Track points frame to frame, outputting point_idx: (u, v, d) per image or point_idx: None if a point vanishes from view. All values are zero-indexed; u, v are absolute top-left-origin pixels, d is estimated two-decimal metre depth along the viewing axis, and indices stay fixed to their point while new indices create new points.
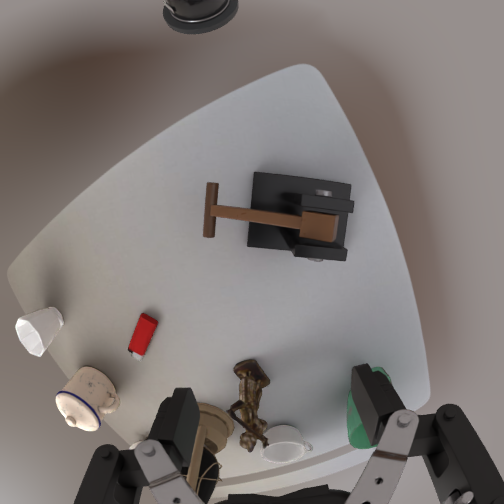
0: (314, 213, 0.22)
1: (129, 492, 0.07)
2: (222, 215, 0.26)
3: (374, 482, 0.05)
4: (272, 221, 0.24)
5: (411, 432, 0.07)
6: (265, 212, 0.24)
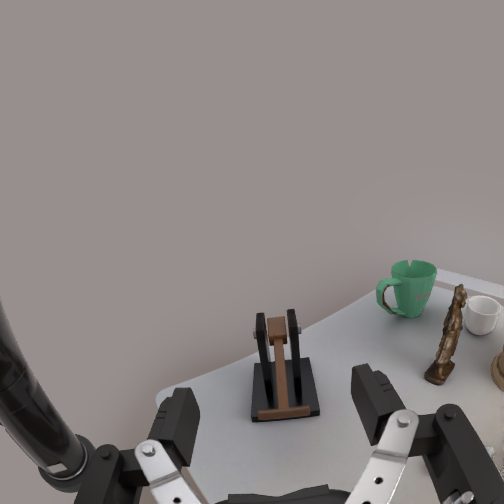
0: (268, 329, 0.33)
1: (129, 492, 0.07)
2: (285, 397, 0.26)
3: (374, 482, 0.05)
4: (281, 357, 0.30)
5: (411, 432, 0.07)
6: (276, 364, 0.30)
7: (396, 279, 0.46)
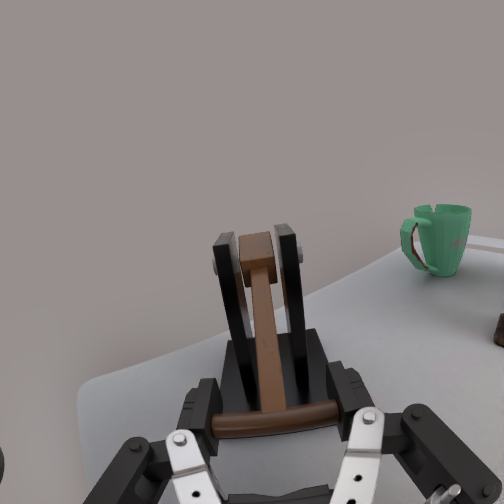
0: (240, 251, 0.18)
1: (153, 485, 0.07)
2: (278, 382, 0.11)
3: (353, 480, 0.05)
4: (266, 299, 0.15)
5: (379, 427, 0.07)
6: (254, 312, 0.15)
7: (424, 219, 0.32)
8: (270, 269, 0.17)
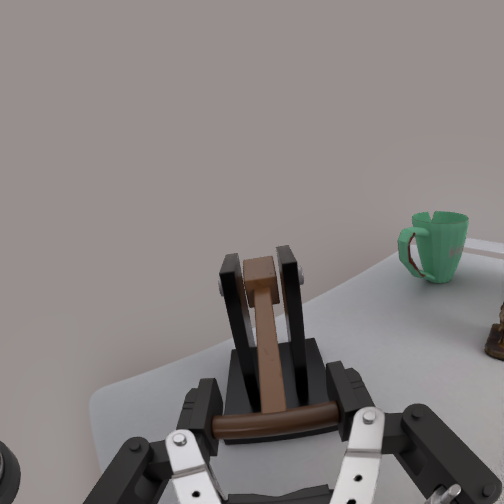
0: (244, 272, 0.19)
1: (153, 485, 0.07)
2: (278, 385, 0.11)
3: (354, 480, 0.05)
4: (268, 314, 0.16)
5: (379, 428, 0.07)
6: (257, 325, 0.15)
7: (422, 228, 0.33)
8: (272, 289, 0.18)
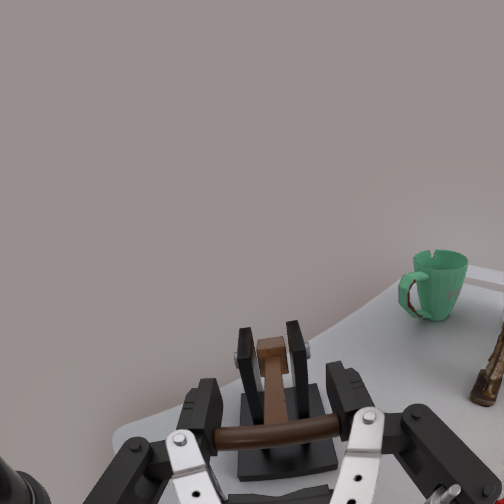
0: (257, 345, 0.21)
1: (153, 485, 0.07)
2: (282, 407, 0.12)
3: (354, 480, 0.05)
4: (276, 369, 0.17)
5: (379, 428, 0.07)
6: (266, 375, 0.16)
7: (422, 273, 0.34)
8: (282, 358, 0.20)
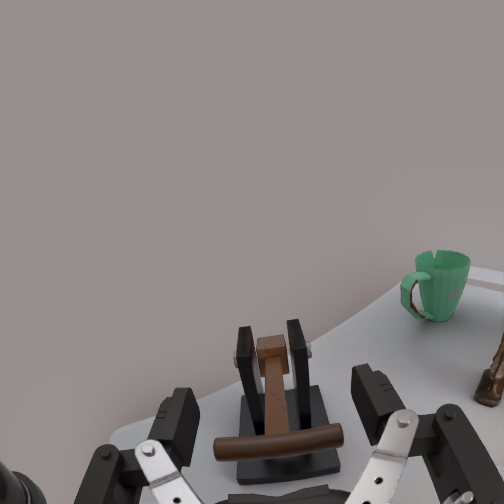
0: (257, 345, 0.20)
1: (129, 492, 0.07)
2: (283, 415, 0.11)
3: (374, 482, 0.05)
4: (277, 371, 0.16)
5: (411, 432, 0.07)
6: (266, 379, 0.16)
7: (424, 273, 0.34)
8: (282, 358, 0.19)
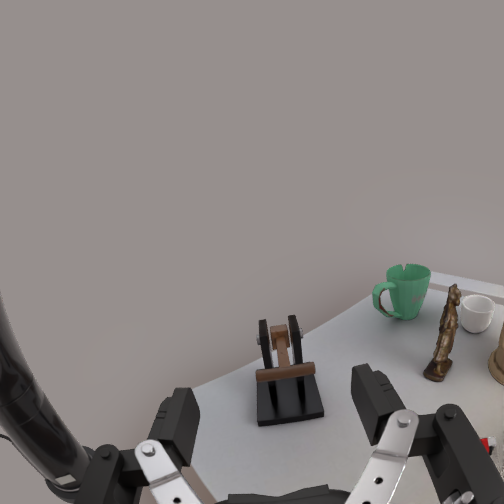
0: (270, 330, 0.34)
1: (129, 492, 0.07)
2: (287, 360, 0.25)
3: (374, 482, 0.05)
4: (283, 343, 0.31)
5: (411, 432, 0.07)
6: (277, 346, 0.30)
7: (391, 283, 0.48)
8: (285, 337, 0.33)
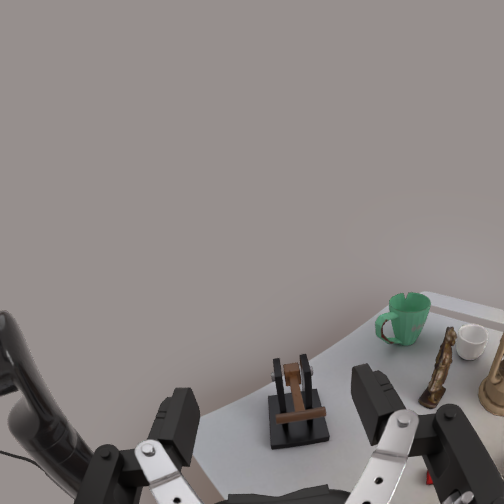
0: (284, 369, 0.36)
1: (129, 492, 0.07)
2: (301, 403, 0.27)
3: (374, 482, 0.05)
4: (296, 384, 0.33)
5: (411, 432, 0.07)
6: (291, 387, 0.32)
7: (393, 313, 0.50)
8: (298, 376, 0.35)
